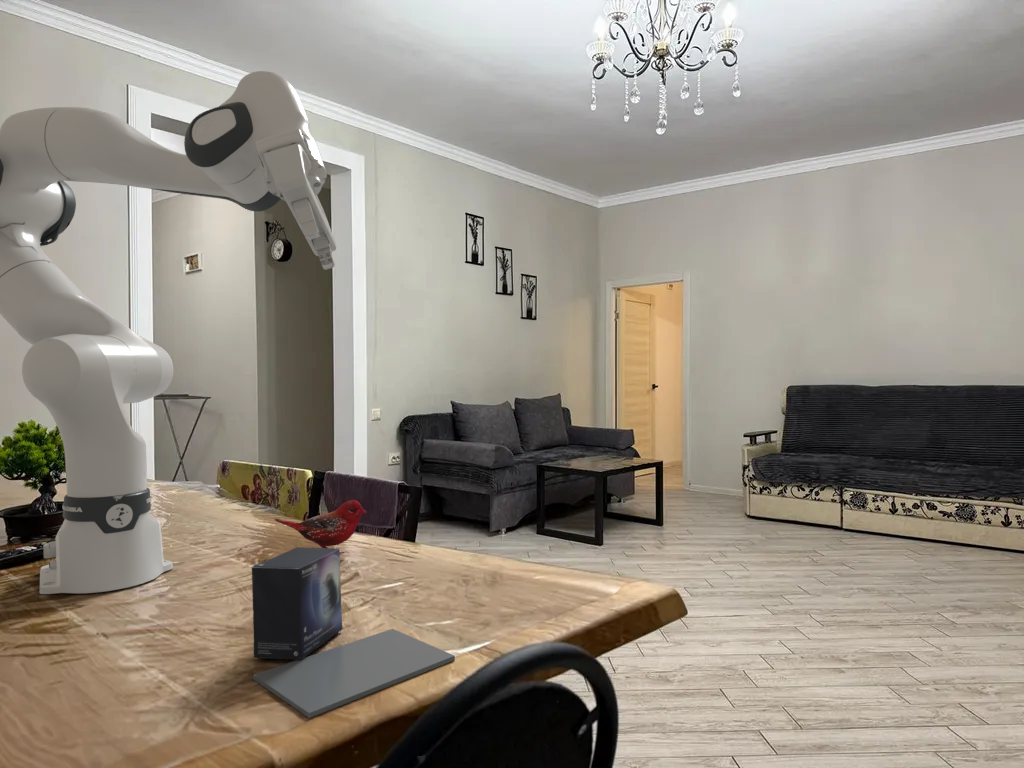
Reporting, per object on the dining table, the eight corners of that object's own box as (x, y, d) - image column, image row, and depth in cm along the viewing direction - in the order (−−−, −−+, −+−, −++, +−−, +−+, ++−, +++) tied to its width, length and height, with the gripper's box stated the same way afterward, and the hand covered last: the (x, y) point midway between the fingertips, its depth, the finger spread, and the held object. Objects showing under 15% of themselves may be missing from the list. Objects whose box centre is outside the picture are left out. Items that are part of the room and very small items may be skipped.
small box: (304, 661, 77) (299, 567, 77) (251, 660, 78) (247, 567, 78) (346, 629, 87) (342, 545, 87) (298, 628, 88) (294, 546, 89)
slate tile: (253, 679, 74) (253, 674, 74) (392, 632, 87) (392, 628, 87) (309, 718, 65) (309, 713, 65) (454, 660, 78) (454, 655, 78)
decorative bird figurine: (364, 558, 121) (363, 501, 121) (271, 555, 124) (270, 499, 124) (370, 554, 124) (369, 498, 124) (279, 551, 127) (278, 496, 127)
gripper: (292, 213, 111) (317, 288, 107) (249, 134, 91) (278, 223, 88) (330, 201, 111) (356, 275, 108) (296, 121, 92) (326, 208, 88)
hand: (321, 252), depth 98 cm, fingers open, 8 cm apart
